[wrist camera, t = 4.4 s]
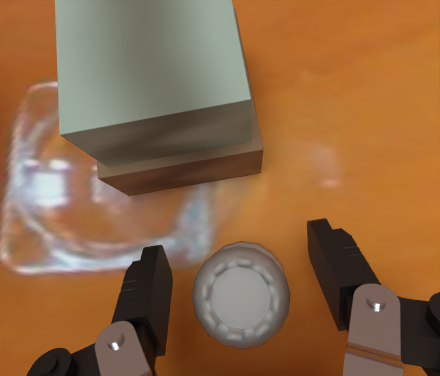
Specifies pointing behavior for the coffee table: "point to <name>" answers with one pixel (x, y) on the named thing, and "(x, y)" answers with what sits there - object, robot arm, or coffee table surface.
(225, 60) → the tower base
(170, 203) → the coffee table surface
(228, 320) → the rook chess piece
